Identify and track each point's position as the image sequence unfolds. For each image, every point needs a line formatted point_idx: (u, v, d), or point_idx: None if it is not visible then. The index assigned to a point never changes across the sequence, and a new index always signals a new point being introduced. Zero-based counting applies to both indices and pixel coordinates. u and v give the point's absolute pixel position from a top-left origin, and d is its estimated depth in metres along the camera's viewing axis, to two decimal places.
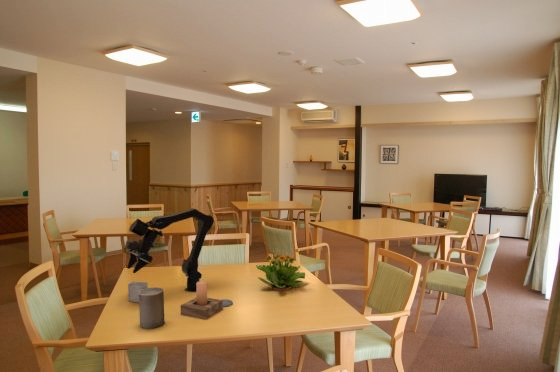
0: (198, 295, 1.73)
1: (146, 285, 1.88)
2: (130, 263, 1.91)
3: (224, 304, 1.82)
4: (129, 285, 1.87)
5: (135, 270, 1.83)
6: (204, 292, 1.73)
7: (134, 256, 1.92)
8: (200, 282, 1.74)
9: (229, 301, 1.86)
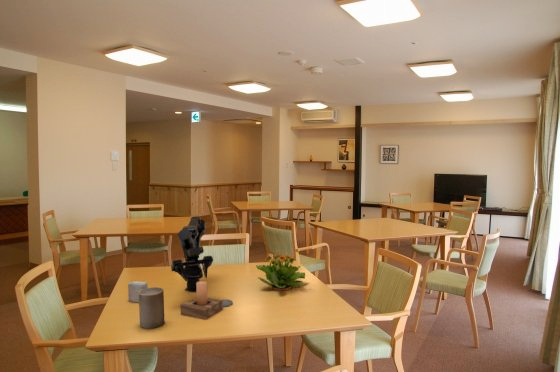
0: (198, 295, 1.73)
1: (146, 285, 1.88)
2: None
3: (224, 304, 1.82)
4: (129, 285, 1.87)
5: (206, 275, 1.83)
6: (204, 292, 1.73)
7: None
8: (200, 282, 1.74)
9: (229, 301, 1.86)
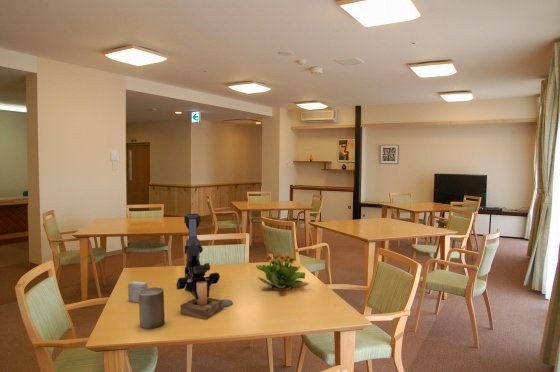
0: (198, 295, 1.73)
1: (146, 285, 1.88)
2: None
3: (224, 304, 1.82)
4: (129, 285, 1.87)
5: (208, 293, 1.76)
6: (204, 292, 1.73)
7: None
8: (200, 282, 1.74)
9: (229, 301, 1.86)
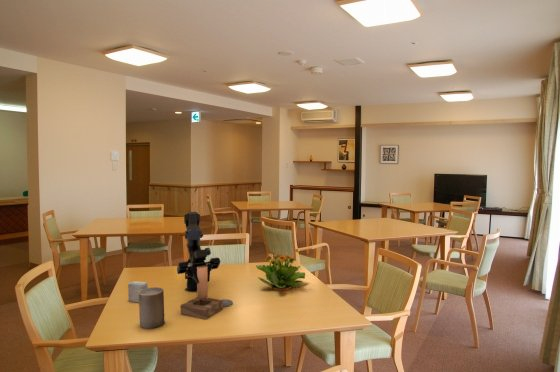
0: (198, 279, 1.73)
1: (146, 285, 1.88)
2: None
3: (224, 304, 1.82)
4: (129, 285, 1.87)
5: None
6: (205, 276, 1.73)
7: None
8: (201, 266, 1.74)
9: (229, 301, 1.86)
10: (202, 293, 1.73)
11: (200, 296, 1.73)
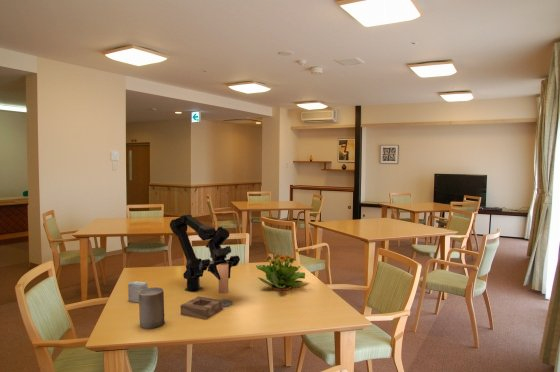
0: (220, 276, 1.82)
1: (146, 285, 1.88)
2: None
3: (224, 304, 1.82)
4: (129, 285, 1.87)
5: None
6: (226, 273, 1.82)
7: None
8: (222, 264, 1.84)
9: (229, 301, 1.86)
10: (223, 290, 1.82)
11: (221, 292, 1.82)
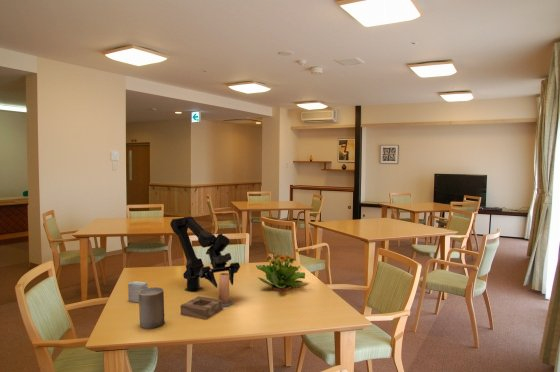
0: (221, 286, 1.82)
1: (146, 285, 1.88)
2: None
3: (224, 304, 1.82)
4: (129, 285, 1.87)
5: None
6: (227, 284, 1.82)
7: None
8: (223, 274, 1.83)
9: (229, 301, 1.86)
10: (224, 300, 1.82)
11: None
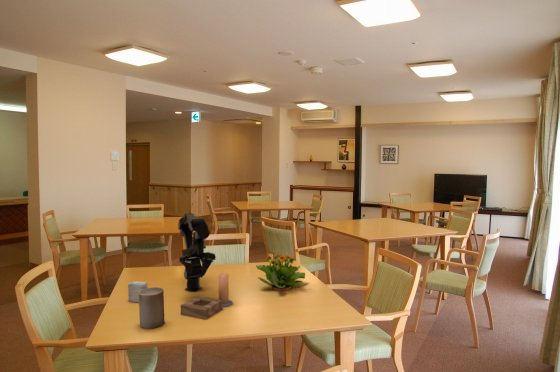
0: (220, 286, 1.82)
1: (146, 285, 1.88)
2: (188, 271, 1.89)
3: (224, 304, 1.82)
4: (129, 285, 1.87)
5: (204, 272, 1.84)
6: (226, 283, 1.82)
7: (189, 264, 1.91)
8: (222, 274, 1.84)
9: (229, 301, 1.86)
10: (224, 300, 1.82)
11: None
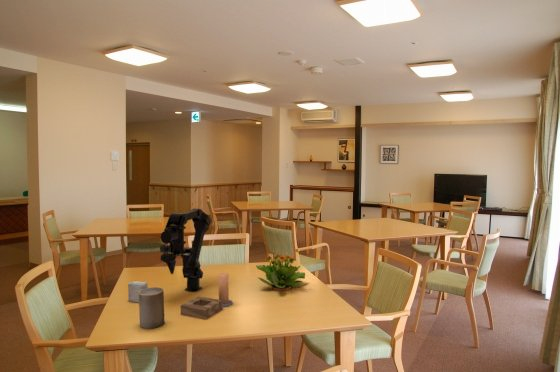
0: (220, 286, 1.82)
1: (146, 285, 1.88)
2: (184, 263, 1.96)
3: (224, 304, 1.82)
4: (129, 285, 1.87)
5: (171, 271, 1.87)
6: (226, 283, 1.82)
7: (184, 256, 1.96)
8: (222, 274, 1.84)
9: (229, 301, 1.86)
10: (224, 300, 1.82)
11: None
